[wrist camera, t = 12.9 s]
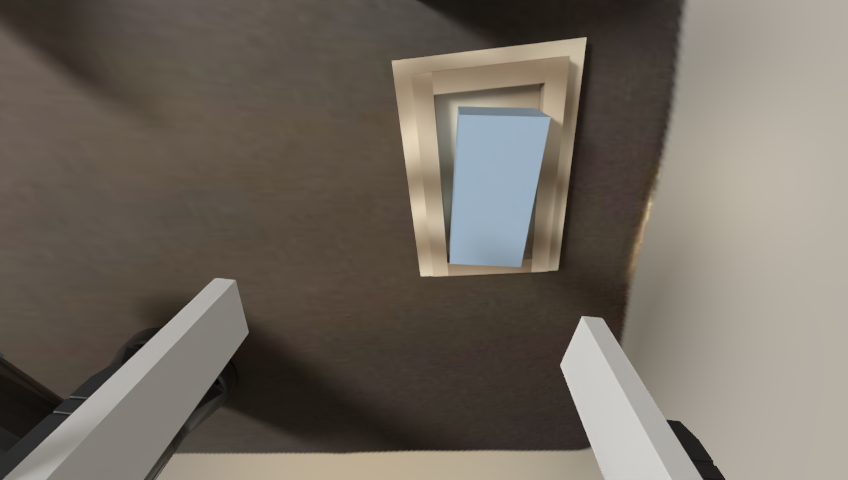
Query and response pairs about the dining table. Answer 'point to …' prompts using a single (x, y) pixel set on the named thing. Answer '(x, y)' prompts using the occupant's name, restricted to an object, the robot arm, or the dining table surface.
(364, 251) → the dining table surface
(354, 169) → the dining table surface
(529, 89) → the slot holder
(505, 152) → the blue block
